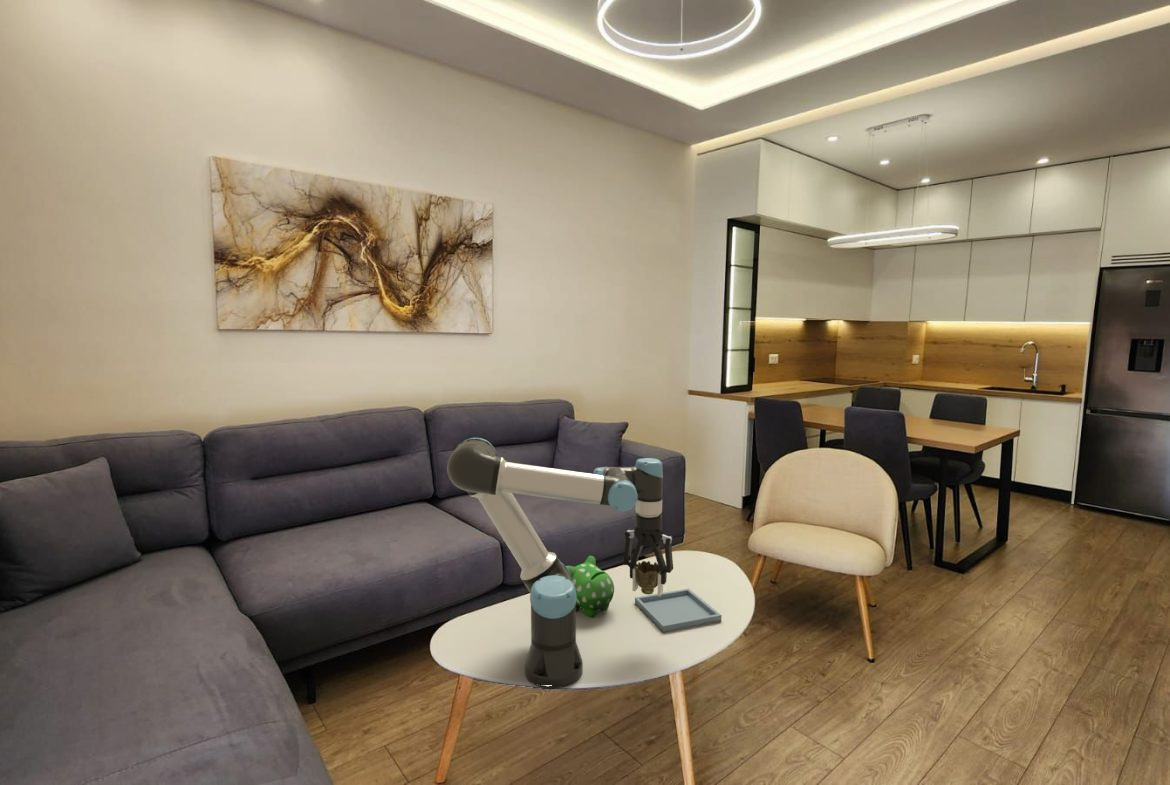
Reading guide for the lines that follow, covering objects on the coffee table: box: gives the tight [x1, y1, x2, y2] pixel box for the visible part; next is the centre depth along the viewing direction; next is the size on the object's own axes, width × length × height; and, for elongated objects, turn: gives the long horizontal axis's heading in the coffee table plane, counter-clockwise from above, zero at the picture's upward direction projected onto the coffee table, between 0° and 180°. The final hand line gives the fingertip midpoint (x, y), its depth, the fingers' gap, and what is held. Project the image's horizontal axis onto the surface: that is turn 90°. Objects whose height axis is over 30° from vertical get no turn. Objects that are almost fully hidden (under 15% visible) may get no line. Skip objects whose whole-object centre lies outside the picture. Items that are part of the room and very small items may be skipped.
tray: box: [634, 588, 722, 633], centre depth 183 cm, size 20×20×2 cm
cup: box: [635, 560, 660, 595], centre depth 164 cm, size 8×7×8 cm
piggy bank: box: [565, 555, 615, 618], centre depth 185 cm, size 14×18×15 cm
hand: (647, 591), depth 165 cm, fingers closed on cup, 7 cm apart
